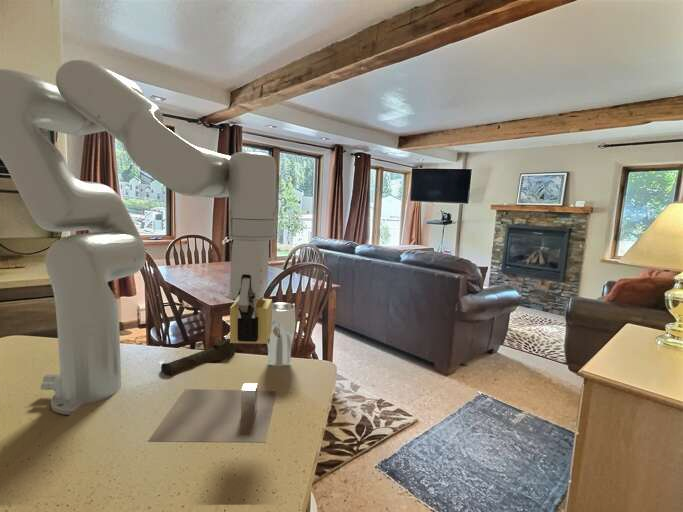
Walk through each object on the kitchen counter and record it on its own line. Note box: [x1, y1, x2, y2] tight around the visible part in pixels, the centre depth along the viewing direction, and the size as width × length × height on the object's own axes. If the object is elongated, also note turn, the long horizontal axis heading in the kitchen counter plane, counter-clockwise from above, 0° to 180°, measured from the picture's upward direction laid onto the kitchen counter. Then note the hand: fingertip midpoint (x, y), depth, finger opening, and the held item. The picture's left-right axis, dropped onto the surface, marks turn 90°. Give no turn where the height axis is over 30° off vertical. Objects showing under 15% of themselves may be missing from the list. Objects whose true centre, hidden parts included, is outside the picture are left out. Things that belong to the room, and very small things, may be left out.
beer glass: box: [266, 302, 296, 367], centre depth 87 cm, size 7×7×15 cm
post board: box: [147, 383, 278, 443], centre depth 65 cm, size 18×16×6 cm
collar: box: [229, 297, 273, 345], centre depth 63 cm, size 6×6×6 cm
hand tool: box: [160, 338, 236, 377], centre depth 86 cm, size 19×4×5 cm, turn 144°
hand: (251, 332), depth 63 cm, fingers closed on collar, 6 cm apart
